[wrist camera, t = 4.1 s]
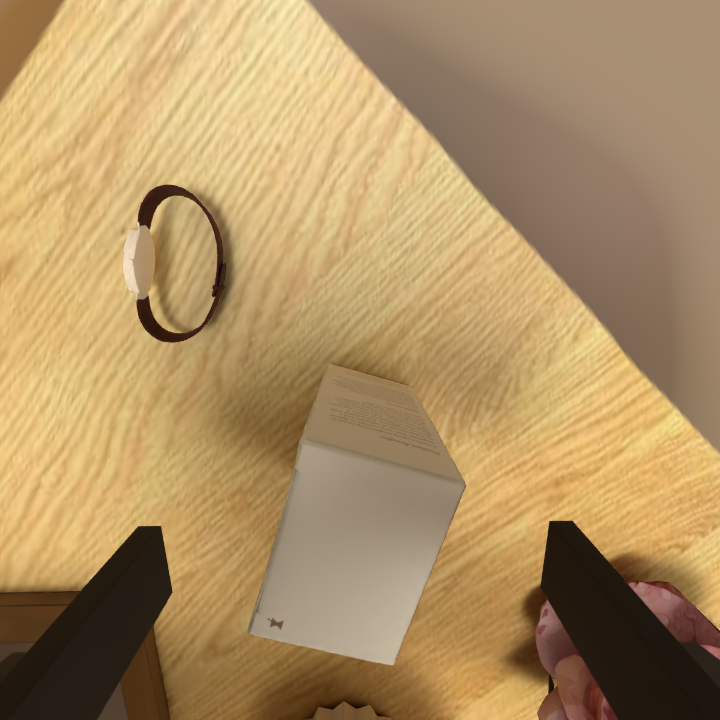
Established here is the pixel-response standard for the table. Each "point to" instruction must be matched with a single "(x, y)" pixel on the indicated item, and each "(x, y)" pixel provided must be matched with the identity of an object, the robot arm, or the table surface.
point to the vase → (347, 713)
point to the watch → (143, 262)
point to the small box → (358, 521)
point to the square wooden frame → (139, 683)
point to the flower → (575, 682)
